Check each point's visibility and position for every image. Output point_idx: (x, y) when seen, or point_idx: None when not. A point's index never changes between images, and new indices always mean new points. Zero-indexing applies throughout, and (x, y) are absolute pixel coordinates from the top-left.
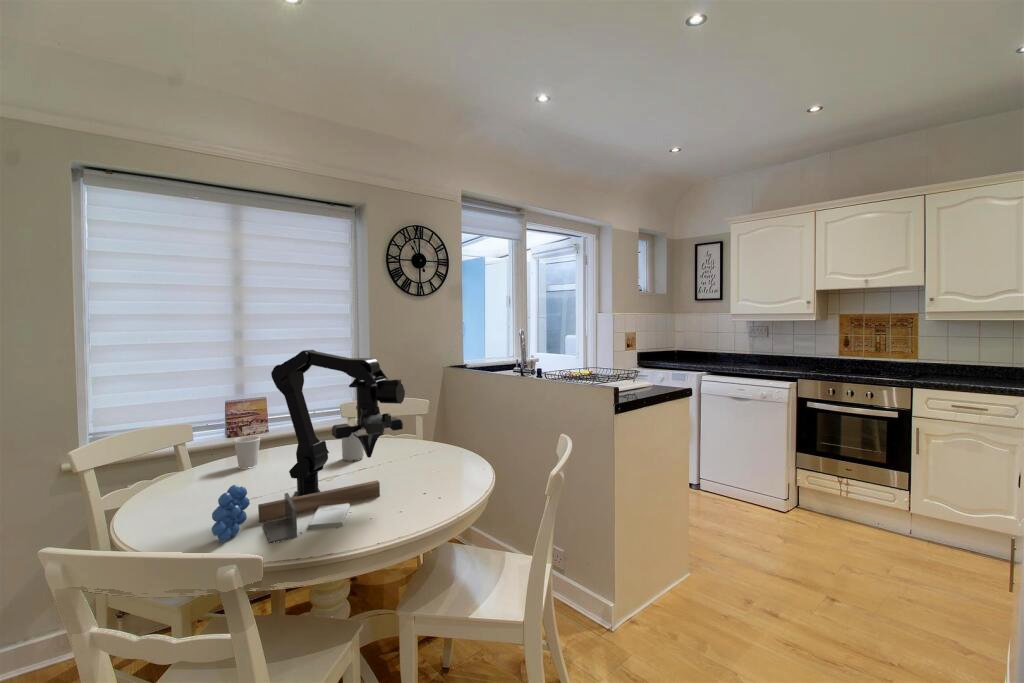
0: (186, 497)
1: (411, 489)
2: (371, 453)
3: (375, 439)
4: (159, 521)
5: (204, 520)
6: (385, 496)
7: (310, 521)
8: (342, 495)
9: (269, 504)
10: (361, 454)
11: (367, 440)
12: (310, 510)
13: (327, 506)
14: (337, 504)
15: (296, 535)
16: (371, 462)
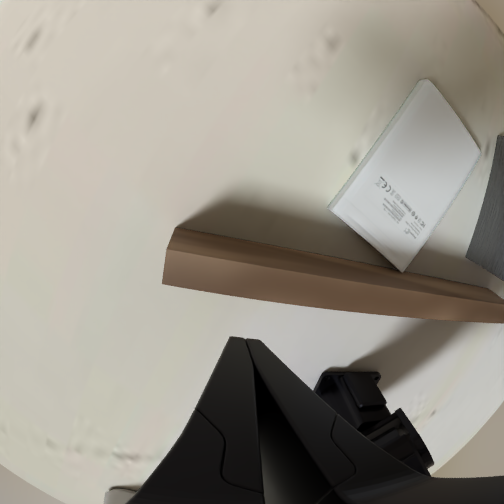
0: (432, 453)
1: (46, 197)
2: (230, 353)
3: (182, 499)
4: (499, 385)
5: (493, 359)
6: (160, 202)
7: (469, 175)
8: (341, 270)
9: (500, 307)
10: (111, 496)
11: (355, 493)
12: (416, 274)
13: (394, 247)
14: (366, 238)
15: (501, 136)
16: (94, 467)
